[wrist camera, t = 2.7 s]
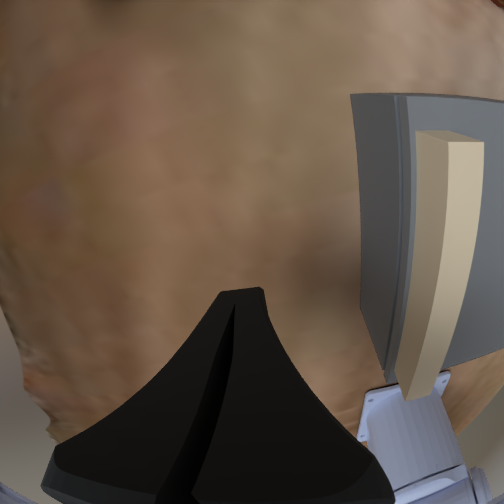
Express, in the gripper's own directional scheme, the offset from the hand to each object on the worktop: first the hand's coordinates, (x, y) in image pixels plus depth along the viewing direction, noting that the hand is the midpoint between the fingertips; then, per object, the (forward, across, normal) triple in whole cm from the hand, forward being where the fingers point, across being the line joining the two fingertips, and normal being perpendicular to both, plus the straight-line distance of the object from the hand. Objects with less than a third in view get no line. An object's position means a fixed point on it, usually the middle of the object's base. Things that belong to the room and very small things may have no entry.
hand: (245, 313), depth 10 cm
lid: (+1, -12, 0) cm, 13 cm away
